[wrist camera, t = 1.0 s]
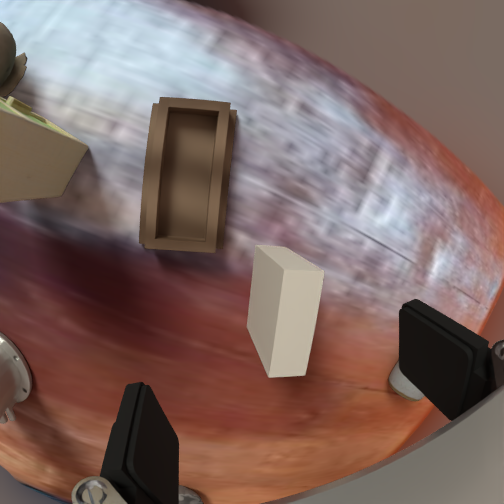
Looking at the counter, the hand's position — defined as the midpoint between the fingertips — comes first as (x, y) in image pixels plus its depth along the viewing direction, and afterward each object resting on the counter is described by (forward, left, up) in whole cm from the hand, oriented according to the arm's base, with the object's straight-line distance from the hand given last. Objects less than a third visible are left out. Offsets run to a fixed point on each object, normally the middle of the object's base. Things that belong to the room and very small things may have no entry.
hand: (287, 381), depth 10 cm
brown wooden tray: (+8, +4, -25) cm, 26 cm away
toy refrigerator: (+10, +20, -25) cm, 34 cm away
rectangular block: (-4, -6, -25) cm, 26 cm away
